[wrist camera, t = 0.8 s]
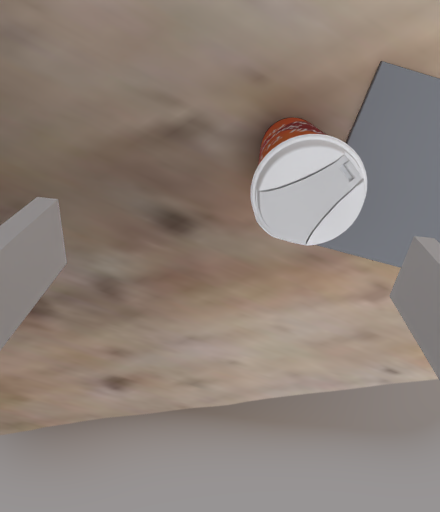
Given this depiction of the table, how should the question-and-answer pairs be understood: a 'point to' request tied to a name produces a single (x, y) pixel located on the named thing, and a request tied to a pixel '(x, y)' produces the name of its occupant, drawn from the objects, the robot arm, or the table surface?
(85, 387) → the table surface
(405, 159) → the rubber mat
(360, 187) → the paper cup
